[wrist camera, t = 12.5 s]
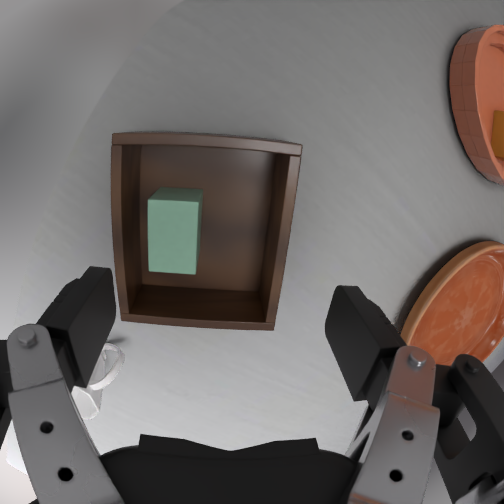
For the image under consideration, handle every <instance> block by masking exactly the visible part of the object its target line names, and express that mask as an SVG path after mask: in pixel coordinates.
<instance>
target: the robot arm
mask: <svg viewBox="0 0 504 504" xmlns="http://www.w3.org/2000/svg"><path fill="white" fill-rule="evenodd" d="M115 317H116V302H115V294H114V285H113V275H112V271H111V269H110V268H103V267H93V266H90V267H89V268H88V269H87V271H86V272H85V273H84V274H83V276H82V277H81V278H80V279H77V278H76V279H75V280H73V281H71V282H70V283H68V284H67V285H65V286H64V288H63V289H62V290H61V291H60V293H59V295H57V297H56V298H55V299H54V302H52V303H51V304H50V306H49V307H48V308H47V310H46V311H45V312H44V314H43V315H42V316H41V318H40V319H39V320H38V322H37V323H36V324H27V325H23V326H20V327H18V328H17V329H15V330H14V331H13V332H12V333H11V334H10V335H9V337H8V339H7V340H0V449H1V446H2V443H3V441H4V438H5V435H6V432H7V430H8V427H9V425H10V422H11V419H12V420H13V424H14V429H15V433H16V436H17V440H18V444H19V447H20V451H21V454H22V457H23V461H24V464H25V467H26V470H27V473H28V475H29V478H30V481H31V483H32V486H33V489H34V491H35V494H36V496H37V499H36V500H34V501H32V502H31V503H29V504H422V502H423V498H424V494H425V491H426V487H427V483H428V479H429V475H430V470H431V465H432V460H433V456H434V458H435V461H436V464H437V466H438V468H439V470H440V473H441V476H442V478H443V481H444V483H445V486H446V488H447V490H448V493H449V496H450V499H451V501H452V504H504V392H503V390H502V389H501V387H500V386H499V385H498V383H497V382H496V380H495V379H494V378H493V376H492V375H491V373H490V372H489V371H488V369H487V368H486V367H485V365H484V364H483V363H482V362H481V361H480V360H479V359H477V358H476V357H474V356H472V355H469V354H460V355H458V356H457V357H456V358H455V360H454V362H453V363H452V365H451V366H448V365H440V364H435V361H434V359H433V357H432V356H431V355H430V354H429V353H428V352H426V351H425V350H423V349H421V348H418V347H415V346H407V344H406V343H405V342H404V340H403V339H402V337H401V336H400V335H399V333H398V332H397V330H396V329H395V328H394V326H393V325H392V324H391V322H390V321H389V319H388V318H387V317H386V315H385V314H384V313H383V311H382V310H381V308H380V307H379V306H377V305H376V304H375V303H373V302H372V301H371V300H369V299H367V298H366V296H365V295H364V294H363V292H362V291H361V290H360V288H359V287H358V286H342V285H339V286H337V287H336V289H335V291H334V294H333V298H332V301H331V305H330V308H329V311H328V315H327V318H326V322H325V334H326V338H327V340H328V342H329V344H330V347H331V349H332V351H333V354H334V356H335V358H336V360H337V363H338V365H339V367H340V370H341V372H342V374H343V377H344V379H345V382H346V384H347V386H348V389H349V391H350V393H351V396H352V398H353V401H362V400H367V401H368V403H369V404H368V406H367V407H366V409H365V411H364V413H363V416H362V418H361V421H360V423H359V425H358V428H357V430H356V432H355V434H354V437H353V439H352V441H351V443H350V445H349V447H348V449H347V451H346V453H345V455H342V454H339V453H335V452H332V451H327V450H321V449H319V448H318V444H317V440H316V438H310V439H299V440H284V441H273V442H269V443H265V444H261V445H257V446H253V447H248V448H244V449H239V450H234V451H227V450H223V449H218V448H214V447H210V446H207V445H203V444H199V443H196V442H192V441H189V440H185V439H178V438H168V437H160V436H152V435H145V434H140V440H139V445H136V446H129V447H123V448H119V449H115V450H112V451H110V452H107V453H105V454H103V455H100V453H99V452H98V450H97V448H96V446H95V444H94V442H93V440H92V438H91V436H90V434H89V432H88V430H87V428H86V426H85V424H84V422H83V420H82V417H81V415H80V413H79V411H78V408H77V406H76V404H75V401H74V399H73V396H72V394H71V392H72V390H73V388H74V386H77V387H81V388H87V385H88V383H89V380H90V378H91V375H92V373H93V370H94V368H95V366H96V363H97V361H98V358H99V356H100V354H101V351H102V349H103V347H104V344H105V342H106V340H107V338H108V335H109V333H110V331H111V329H112V326H113V324H114V322H115ZM465 407H466V408H467V410H468V411H469V413H470V415H471V416H472V418H473V420H474V422H475V424H476V428H477V430H476V435H475V437H474V438H473V439H472V441H471V442H470V440H469V438H468V437H467V434H466V433H465V431H464V429H463V427H462V425H461V423H460V421H459V420H458V418H457V417H458V416H459V414H460V413H461V412H462V410H463V409H464V408H465Z"/></svg>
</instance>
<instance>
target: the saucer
mask: <svg viewBox="0 0 504 504" xmlns="http://www.w3.org/2000/svg"><path fill="white" fill-rule="evenodd" d="M400 336H401V337H402V339H403V340H404V342H405V343H406V344H407V346H415V347H418V348H421V349H423V350H425V351H426V352H428V353H429V354H430V355H431V356H432V357H433V359H434V361H435V364H440V365H448V366H451V365H452V363H453V362H454V360H455V358H456V357H457V356H458V355H460V354H469V355H472V356H474V357H476V358H477V359H479V360H480V361H481V362H483V361H484V360H485V359H486V358H487V357H488V356H489V355H490V354H491V353H492V352H493V350H494V349H495V348H496V347H497V345H498V344H499V343H500V341H501V340H502V338H503V337H504V244H502V243H499V242H495V241H484V242H480V243H477V244H474V245H472V246H470V247H468V248H466V249H464V250H463V251H461V252H460V253H458V254H457V255H456V256H454V257H453V258H452V259H451V260H450V261H449V262H448V263H447V264H445V265H444V266H443V267H442V268H441V269H440V271H439V272H438V273H437V274H436V275H435V276H434V277H433V278H432V279H431V281H430V282H429V283H428V285H427V286H426V287H425V289H424V290H423V291H422V293H421V294H420V296H419V297H418V299H417V301H416V302H415V304H414V306H413V308H412V309H411V311H410V313H409V315H408V317H407V319H406V321H405V324H404V326H403V329H402V332H401V335H400Z"/></svg>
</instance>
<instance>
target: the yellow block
mask: <svg viewBox="0 0 504 504" xmlns="http://www.w3.org/2000/svg"><path fill="white" fill-rule="evenodd" d="M491 147H492V150H493V152H494V156H495V157H496V158H498V159H500V160H502V161H504V111H495V110H494V120H493V131H492V140H491Z"/></svg>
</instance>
